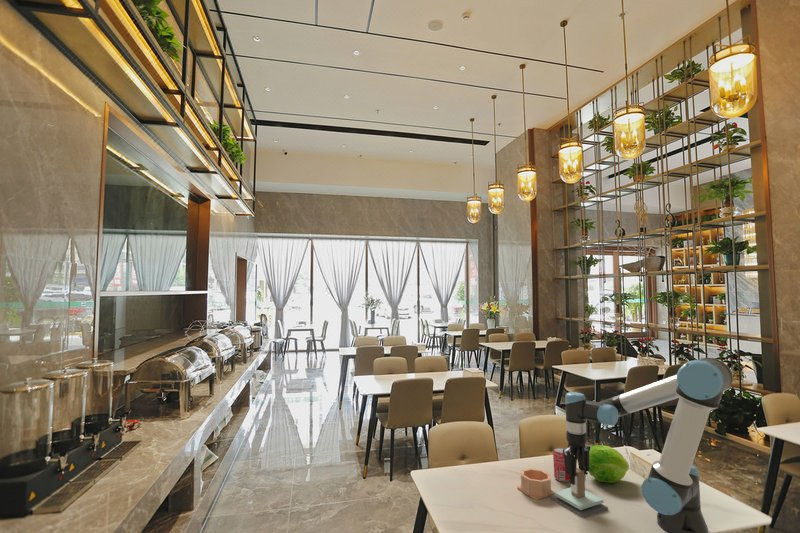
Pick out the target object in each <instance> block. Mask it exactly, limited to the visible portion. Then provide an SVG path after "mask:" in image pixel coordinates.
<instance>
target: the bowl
mask: <svg viewBox="0 0 800 533" xmlns="http://www.w3.org/2000/svg"><path fill="white" fill-rule="evenodd" d="M551 478H552V477H551V474H550V473H548V472H547V471H544V470H543V469H537V468H526V469H521V474H520V485H518V486H516V489H518V490H519V491H520V492H522V493H523V494H525V495H527V496H529V497H530V498H532V499H534V500H535V501H538V500H542V499H546V498H549V497H550V496H553V495H554V492H555V491H554V490H552V486H551V485H552V482H551V481H552V480H551Z"/></svg>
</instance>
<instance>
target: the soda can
mask: <svg viewBox="0 0 800 533" xmlns="http://www.w3.org/2000/svg"><path fill="white" fill-rule="evenodd" d="M563 449H565V450H566V449H567V448H565V447H555V448H553V453H552V457H553V461H552V462H553V477H554V478H555V480H557V481H558V482H563V483H567V482H570V475H568V474H566V473H565V459H564V453H563Z"/></svg>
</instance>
